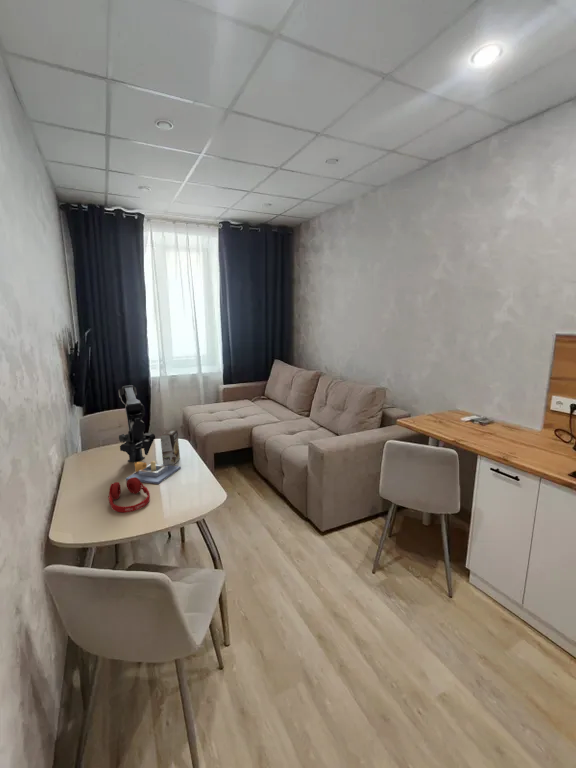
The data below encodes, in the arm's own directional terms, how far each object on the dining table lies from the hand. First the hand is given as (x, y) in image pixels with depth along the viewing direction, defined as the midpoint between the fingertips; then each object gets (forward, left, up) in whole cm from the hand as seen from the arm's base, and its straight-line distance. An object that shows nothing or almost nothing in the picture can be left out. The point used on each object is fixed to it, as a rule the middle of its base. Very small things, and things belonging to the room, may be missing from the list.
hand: (140, 458), depth 179 cm
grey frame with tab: (0, +5, -7) cm, 8 cm away
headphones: (+25, +14, -8) cm, 30 cm away
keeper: (0, +7, -8) cm, 10 cm away
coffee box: (-16, +6, -8) cm, 19 cm away
